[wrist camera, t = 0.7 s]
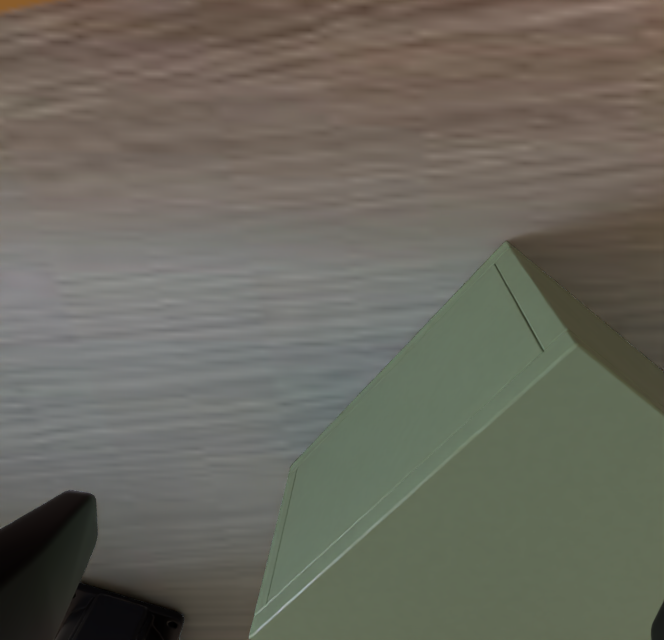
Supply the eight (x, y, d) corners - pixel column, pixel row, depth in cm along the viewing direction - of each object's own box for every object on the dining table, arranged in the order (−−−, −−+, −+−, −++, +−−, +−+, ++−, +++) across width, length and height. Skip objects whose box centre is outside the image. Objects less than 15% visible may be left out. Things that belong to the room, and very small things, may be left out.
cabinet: (749, 443, 23) (934, 633, 15) (509, 614, 28) (556, 823, 20) (505, 239, 21) (577, 341, 13) (289, 466, 26) (246, 639, 18)
